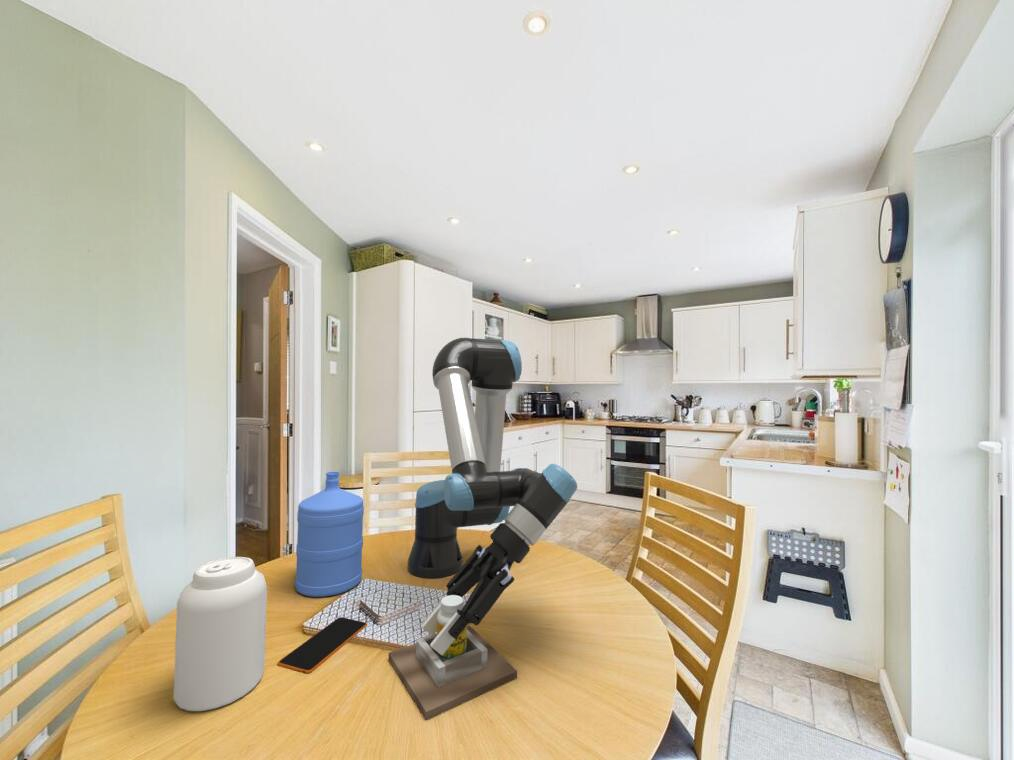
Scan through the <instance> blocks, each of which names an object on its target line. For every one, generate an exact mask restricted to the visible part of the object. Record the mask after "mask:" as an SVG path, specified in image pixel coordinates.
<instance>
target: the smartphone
mask: <svg viewBox="0 0 1014 760" xmlns="http://www.w3.org/2000/svg"><path fill="white" fill-rule="evenodd" d="M367 626H368V623H367V622H365V621H360V620H356V619H352V618H347V617H343V616H340V617H337V618H336V619H334V620H333V621H332V622H330V623H329V624H327V625H326V626H325V627H324V628H322V629H321V630H320V631H318V632H317V633H315V634H314V635H313V636H311V637H310V638H309V639H307V640H306V641H305V642H302V643H301V645H299V646H298V647H296V648H294V649H293V650H292V651H291V652H290V653H288V654H287V655H285V656H284V657H282V658H281V659H280V660H278V661H277V666H278V667H280V668H284V669H287V670H288V669H289V670H292V671H295V672H299V673H305V674H306V675H309V674H311V673H313V672H314V671H315V670H316V669H318V668H319V667H320V666H322V664H324V663H325V662H326V661H327V660H328V659H329V658H331V657H332V656H333V655H335V653H336V652H338V651H339V650H340V649H341V648H342V647H343V646H345V645H346V644H348V643H349V642H350V641H351V640H352V639H353V638H355V636H357V635H358V634H359V633H360V632H361V631H363V630H364V629H366V627H367Z"/></svg>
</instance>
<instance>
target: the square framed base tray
mask: <svg viewBox="0 0 1014 760" xmlns="http://www.w3.org/2000/svg"><path fill="white" fill-rule="evenodd" d="M436 636H437V632H436V633H435V634H434V635H433V636H432V635H431V634H429V635H427V636H424V637H421V638H418V639H416V643H415V642H414V643H413V644H410V645H407V646H403V647H401V648H398V649H395V650H393V651H392V650H391V651H390V652H388V656H387V657H388V658H387V659H388V661H389V662H390V664H391V666H392V667H393V669H394V670H395V673H396V674H397V675H398V677H399V679H400V680H401V682H402V683H403V685H404V687H405V688H406V690H407V692H408V693H409V695H410V696H411V698H412V700H413V701H414V703H415V704H416V706H417V708H418V709H419V711H420V713H421V714H422V716H423V718H424V719H425V721H427V720H429V719H431V718H434V717H435V716H436V717H437V716H438V715H441V714H442V713H445V712H446V711H449V710H451V709H453V708H455V707H457V706H459V705H462V704H464V703H466V702H468V701H471V700H472V699H474V698H476V697H478V696H482V695H483V694H486V693H488V692H490V691H492V690H494V689H497V688H498V687H500V686H503V685H505V684H507V683H509V682H511V681H513V680H515V679H518V670H517V669H516V668H515V667H514V666H513V665H512V664H511V663H510V662H508V661H507V659H506V658H505V657H503V656H502V655H501V654H500V653H499V652H498V651H497V650H496V648H494V647H493V646H492V645H491V644H490V643H489V642H488V641H487V640H486V639H484V638H483V636H481V635H480V634H479V633H478V632H477V631H476V630H475V629H474V628H473V627H472V626H471V625H470V624H468V625H467V648H466V653H465V654H462V655H459V656H457V657H454V658H452V659H449V660H447V661H442V660H440V659H439V657H438V656H437V651H436V650H434V649H433V648H432V647H431V645H430V644H431V643H432V641H433V640H434V639H435V638H436Z"/></svg>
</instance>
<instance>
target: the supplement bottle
mask: <svg viewBox="0 0 1014 760" xmlns="http://www.w3.org/2000/svg"><path fill="white" fill-rule="evenodd" d="M440 603H441V610H440V611H439V613H438V615H437V632H436V633H437V635H438V634H439V633H440V631H441V630H442V629H443V628H444V627H445V625H446V624H447V623H448V622H449V620H450V619H451V618H452V617H453V615H454V614H455V613H456V612H457V609H459V610H462V608H463V607H464V598H463V597H460V596H457V595H449V596H447V595H445V596H444V597H443V598H441V601H440ZM466 648H467V626H466V627H465V628H464V630H463V631H462V632H461V633H460V635H459V636H458V637H457V638H456V639H455V640H454V641H453V642H452V644H451V645H450V646H449V647H448V649H447V650H446V651H445V653H444V654H443V655H441V654H439V653H438V652H437V656H438V657H439V659H440V660H442V661H447V660H449V659H452V658H454V657H457V656H459V655H462V654H465V653H466Z"/></svg>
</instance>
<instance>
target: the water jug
mask: <svg viewBox="0 0 1014 760" xmlns="http://www.w3.org/2000/svg"><path fill="white" fill-rule="evenodd" d="M339 475H340V472H338V471H331V472H330V471H328V472H326V473H325V476H326V477H325V478H326V479H325V488H324V489H323V490H321V491H319V492H317V493H315V494H313V495H311V496H309V497H306V498H305V499H303V500H301V501H300V502H299V504H298V505H297V506H298V507H297V508H298V510H297V512H296V513H297V514H296V515H297V518H296V520H297V521H296V522H297V540H296V542H297V543H296V547H295V549H296V550H295V553H296V570H295V571H296V572H295V575H296V577H295V580H294V585H295V586H294V587H295V590H296V591H297V592H298V593H299V594H301V595H302V596H306V597H311V598H326V597H332V596H336V595H339V594H342V593H345V592H348V591H349V590H352V589H353V588H355V587H356V586H357V585H359V583H360V582H361V580H362V577H363V568H362V566H363V565H362V561H363V560H362V559H363V558H362V557H363V556H362V554H363V546H364V540H363V539H364V536H363V533H364V531H363V527H364V525H363V524H364V511H365V510H364V509H365V507H364V499H363V498H362V496H360V495H357V494H355V493H352V492H350V491H347V490H343V489H341V488H340V487H339V482H340V478H339Z"/></svg>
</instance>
